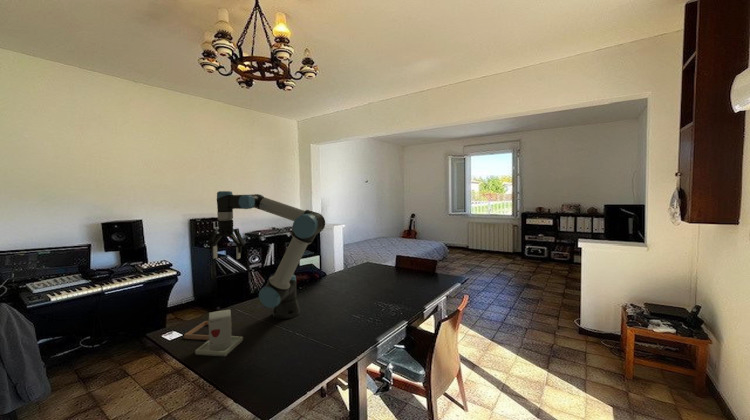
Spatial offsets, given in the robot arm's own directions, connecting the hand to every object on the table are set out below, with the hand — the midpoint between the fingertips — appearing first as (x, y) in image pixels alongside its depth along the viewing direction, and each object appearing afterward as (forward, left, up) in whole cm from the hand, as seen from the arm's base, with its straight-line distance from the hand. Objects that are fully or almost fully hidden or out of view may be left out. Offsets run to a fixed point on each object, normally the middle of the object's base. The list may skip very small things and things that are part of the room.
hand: (226, 258), depth 163 cm
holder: (+2, +14, -35) cm, 37 cm away
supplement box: (-13, +27, -34) cm, 46 cm away
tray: (-13, +27, -35) cm, 46 cm away
